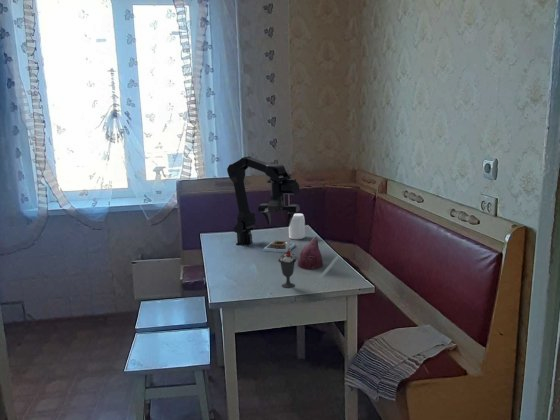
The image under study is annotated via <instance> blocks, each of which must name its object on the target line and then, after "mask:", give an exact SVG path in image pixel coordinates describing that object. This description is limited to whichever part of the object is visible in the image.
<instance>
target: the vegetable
mask: <svg viewBox="0 0 560 420" xmlns="http://www.w3.org/2000/svg"><path fill="white" fill-rule="evenodd" d="M323 265H324V263H323V256H322V253H321V251H320V248H319V240H318V236H317V235H316V236H315V237H313V238H311V240H309V242H308V243H307V244H306V245H304V247H303V248H302V249H301V251H300V253H299V257H298V261H297V267H298V268H300V269H303V270H309V271H311V270H312V271H314V270H319V269H320V268H322V267H323Z"/></svg>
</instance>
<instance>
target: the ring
mask: <svg viewBox="0 0 560 420" xmlns="http://www.w3.org/2000/svg"><path fill="white" fill-rule="evenodd" d="M287 241H288V240H286V241H285V240H274V241H272V242H273V243H272V242H270V243H271V244H270V243H269V244H270V245H271V247H270V248H273V249H286V242H287Z"/></svg>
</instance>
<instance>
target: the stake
mask: <svg viewBox="0 0 560 420" xmlns="http://www.w3.org/2000/svg"><path fill="white" fill-rule="evenodd" d="M286 241H287V242H286V252H288V249H289V248H290V243H291V241H289V240H286ZM289 251H290V252H291V250H289ZM291 254H292V253H291ZM283 255H284V254H281V255H280V258H282V257H283ZM292 256H293V257H294V258H295V259H296V257H297V256H296V254H294V253H293V254H292Z"/></svg>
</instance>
